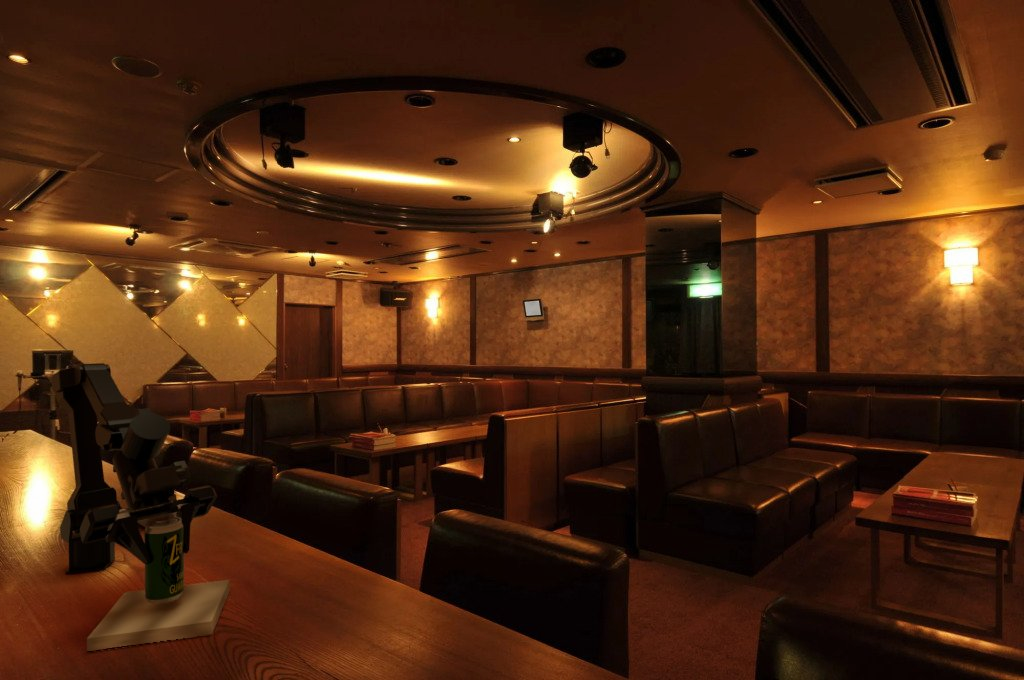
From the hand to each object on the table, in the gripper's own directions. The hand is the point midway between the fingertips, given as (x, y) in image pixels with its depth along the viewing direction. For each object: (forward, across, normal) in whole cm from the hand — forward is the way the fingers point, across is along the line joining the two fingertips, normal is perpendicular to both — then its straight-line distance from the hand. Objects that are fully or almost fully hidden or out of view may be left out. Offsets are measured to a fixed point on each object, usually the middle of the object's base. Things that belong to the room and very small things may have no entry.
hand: (168, 557), depth 93 cm
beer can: (+4, 0, +6) cm, 7 cm away
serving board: (+6, 0, +8) cm, 10 cm away
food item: (-32, +19, +47) cm, 60 cm away
